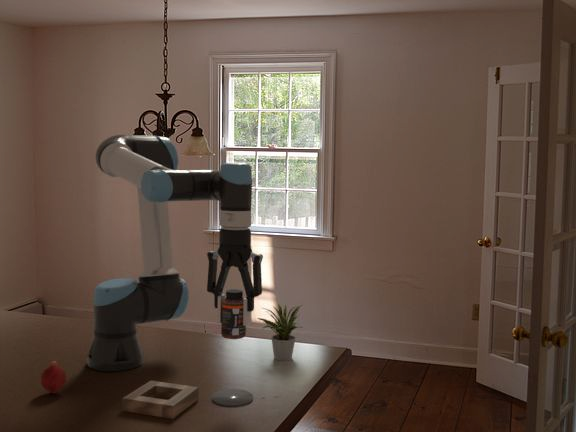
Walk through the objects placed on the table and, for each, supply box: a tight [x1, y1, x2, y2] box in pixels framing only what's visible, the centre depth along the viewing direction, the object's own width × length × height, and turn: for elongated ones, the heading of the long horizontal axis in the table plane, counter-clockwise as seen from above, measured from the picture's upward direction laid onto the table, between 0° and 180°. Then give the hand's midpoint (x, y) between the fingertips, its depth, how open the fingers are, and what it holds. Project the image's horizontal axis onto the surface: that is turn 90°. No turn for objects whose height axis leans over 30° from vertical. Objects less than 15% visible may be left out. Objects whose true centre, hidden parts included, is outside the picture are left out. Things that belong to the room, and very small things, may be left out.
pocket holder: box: [122, 380, 199, 420], centre depth 161 cm, size 13×13×3 cm
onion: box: [40, 361, 67, 394], centre depth 166 cm, size 6×6×8 cm
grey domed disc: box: [211, 388, 254, 407], centre depth 166 cm, size 10×10×1 cm
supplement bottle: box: [220, 288, 247, 340], centre depth 164 cm, size 6×6×11 cm
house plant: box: [257, 303, 304, 362], centre depth 200 cm, size 14×14×16 cm
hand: (233, 322), depth 164 cm, fingers closed on supplement bottle, 6 cm apart
